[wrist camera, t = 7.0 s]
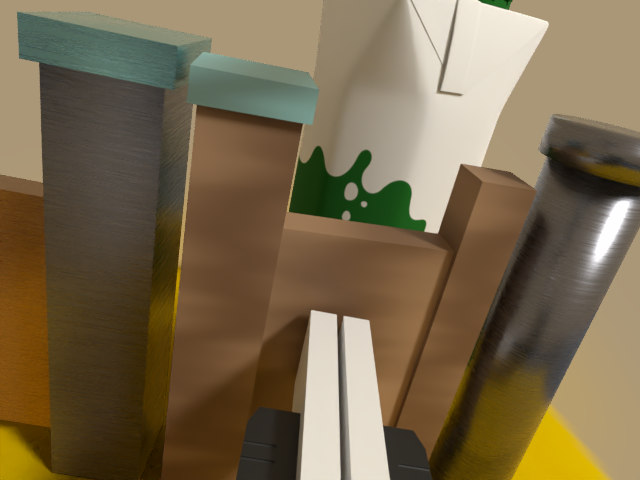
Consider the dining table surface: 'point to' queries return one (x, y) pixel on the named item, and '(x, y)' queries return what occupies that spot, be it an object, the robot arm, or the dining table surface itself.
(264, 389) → the gate
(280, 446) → the robot arm
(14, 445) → the dining table surface
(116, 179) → the gate posts
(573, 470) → the dining table surface
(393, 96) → the milk carton
